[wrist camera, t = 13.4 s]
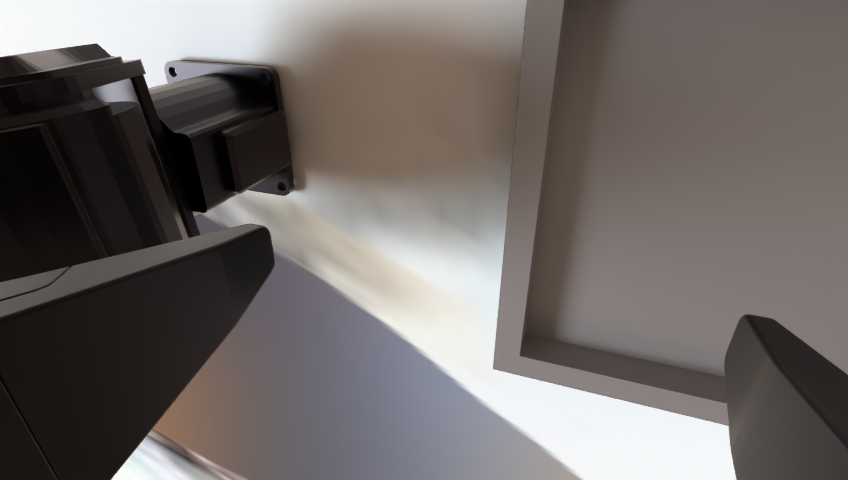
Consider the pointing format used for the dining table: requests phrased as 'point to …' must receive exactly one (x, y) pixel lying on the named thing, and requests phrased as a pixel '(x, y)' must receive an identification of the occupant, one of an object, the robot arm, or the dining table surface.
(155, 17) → the dining table surface
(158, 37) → the dining table surface
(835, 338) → the tray
